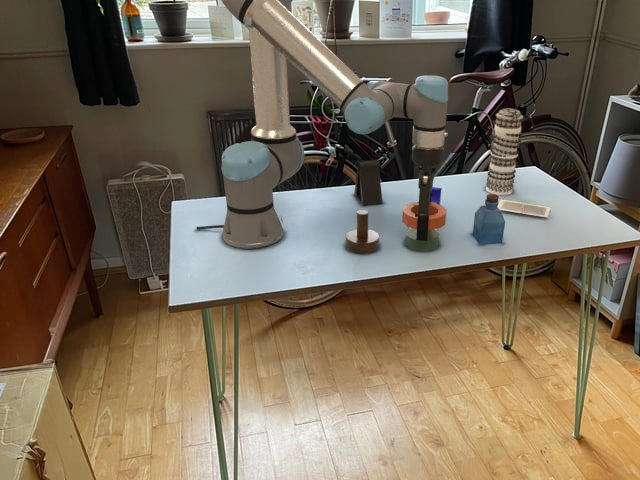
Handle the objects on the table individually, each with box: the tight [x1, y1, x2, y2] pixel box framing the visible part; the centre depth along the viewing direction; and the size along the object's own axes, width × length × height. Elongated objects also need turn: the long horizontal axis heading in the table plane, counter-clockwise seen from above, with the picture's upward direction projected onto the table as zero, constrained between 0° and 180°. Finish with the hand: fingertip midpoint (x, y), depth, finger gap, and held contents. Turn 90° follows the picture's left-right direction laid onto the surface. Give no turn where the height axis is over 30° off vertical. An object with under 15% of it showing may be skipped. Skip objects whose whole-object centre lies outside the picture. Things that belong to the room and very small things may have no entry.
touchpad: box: [497, 198, 552, 218], centre depth 170 cm, size 8×15×2 cm, turn 70°
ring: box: [401, 201, 447, 230], centre depth 147 cm, size 11×11×3 cm
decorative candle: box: [485, 107, 524, 196], centre depth 178 cm, size 9×9×25 cm
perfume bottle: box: [472, 193, 506, 245], centre depth 152 cm, size 6×6×12 cm
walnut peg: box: [345, 209, 380, 255], centre depth 147 cm, size 8×8×10 cm
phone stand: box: [353, 158, 383, 206], centre depth 172 cm, size 9×6×12 cm, turn 19°
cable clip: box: [431, 186, 442, 205], centre depth 166 cm, size 12×4×6 cm, turn 169°
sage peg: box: [405, 210, 440, 252], centre depth 149 cm, size 8×8×10 cm
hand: (423, 230), depth 149 cm, fingers closed on ring, 11 cm apart
